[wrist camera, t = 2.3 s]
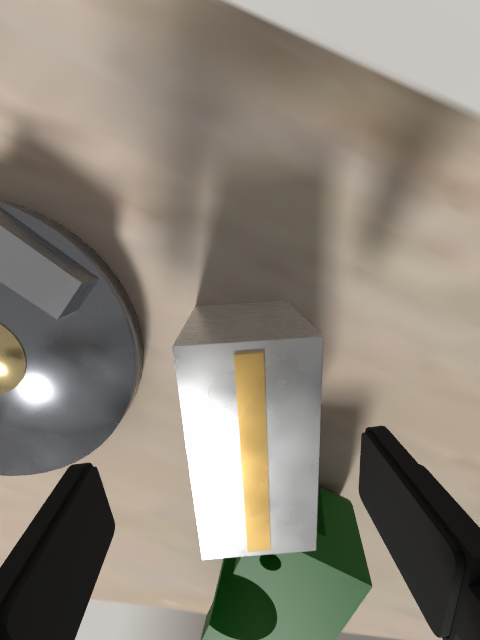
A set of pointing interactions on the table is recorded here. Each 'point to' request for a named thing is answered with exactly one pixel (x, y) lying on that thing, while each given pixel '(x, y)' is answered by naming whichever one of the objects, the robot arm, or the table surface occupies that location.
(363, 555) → the clamp
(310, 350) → the striped grey block
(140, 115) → the table surface
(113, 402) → the shallow grey dish
